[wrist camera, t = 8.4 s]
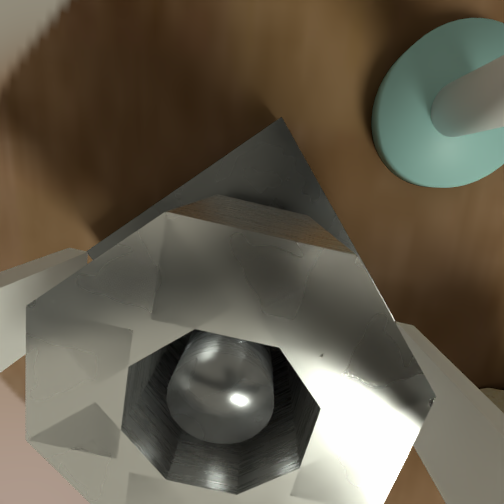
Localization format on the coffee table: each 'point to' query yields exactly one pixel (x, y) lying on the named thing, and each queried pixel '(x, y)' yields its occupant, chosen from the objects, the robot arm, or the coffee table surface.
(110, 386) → the collar
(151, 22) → the coffee table surface
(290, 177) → the hub
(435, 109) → the stand
